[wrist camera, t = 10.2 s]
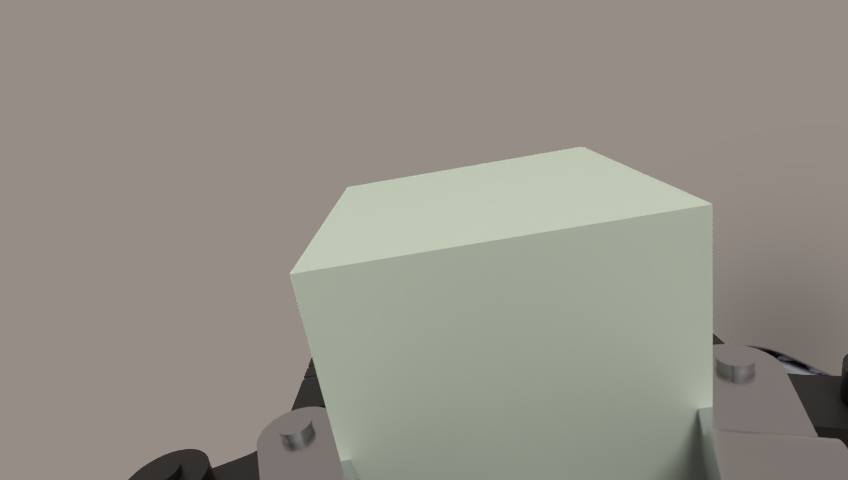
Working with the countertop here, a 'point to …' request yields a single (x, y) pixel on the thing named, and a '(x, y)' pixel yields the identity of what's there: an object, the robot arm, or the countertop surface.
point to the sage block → (514, 322)
